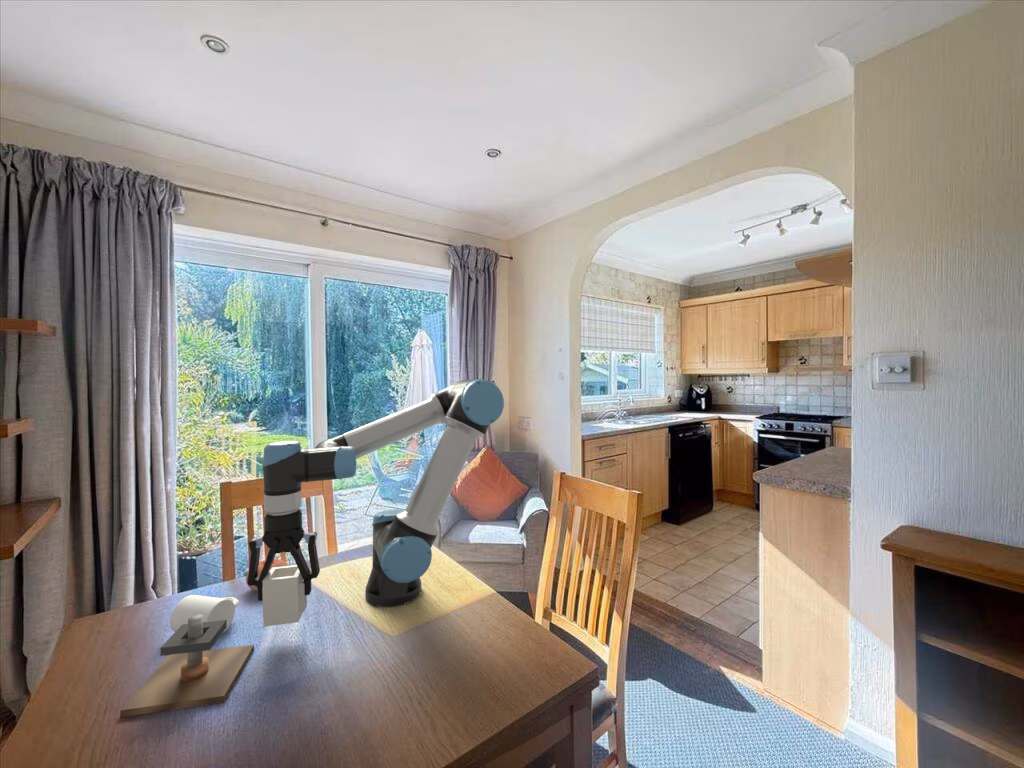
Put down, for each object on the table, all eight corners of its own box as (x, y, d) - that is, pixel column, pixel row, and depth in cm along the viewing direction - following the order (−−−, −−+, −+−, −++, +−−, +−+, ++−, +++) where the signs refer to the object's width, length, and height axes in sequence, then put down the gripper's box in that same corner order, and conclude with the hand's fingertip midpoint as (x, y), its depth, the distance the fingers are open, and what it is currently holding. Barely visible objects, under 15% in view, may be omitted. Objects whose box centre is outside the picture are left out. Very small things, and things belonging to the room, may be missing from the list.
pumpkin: (237, 591, 121) (238, 562, 122) (276, 576, 131) (276, 550, 131) (258, 601, 116) (259, 571, 116) (297, 585, 125) (297, 558, 125)
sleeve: (305, 606, 102) (304, 564, 102) (298, 622, 95) (297, 576, 95) (273, 610, 101) (272, 567, 100) (263, 626, 94) (262, 580, 94)
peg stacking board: (254, 650, 95) (254, 594, 95) (223, 702, 79) (224, 635, 79) (169, 660, 91) (170, 602, 91) (120, 717, 75) (121, 647, 75)
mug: (205, 645, 96) (206, 609, 96) (169, 639, 98) (169, 604, 98) (248, 617, 108) (249, 585, 108) (215, 612, 110) (215, 581, 110)
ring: (226, 627, 90) (226, 619, 90) (209, 650, 82) (209, 642, 82) (182, 631, 88) (182, 624, 88) (160, 655, 80) (160, 647, 80)
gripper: (333, 502, 104) (335, 597, 104) (240, 509, 99) (242, 609, 99) (327, 511, 97) (329, 613, 97) (227, 519, 92) (229, 627, 92)
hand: (285, 611), depth 98 cm, fingers closed on sleeve, 7 cm apart
